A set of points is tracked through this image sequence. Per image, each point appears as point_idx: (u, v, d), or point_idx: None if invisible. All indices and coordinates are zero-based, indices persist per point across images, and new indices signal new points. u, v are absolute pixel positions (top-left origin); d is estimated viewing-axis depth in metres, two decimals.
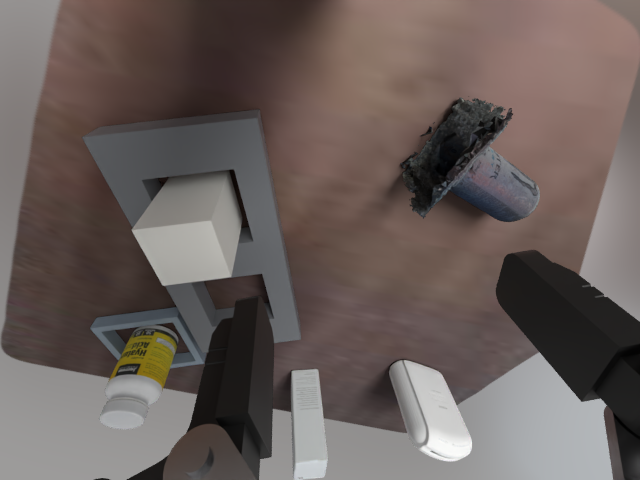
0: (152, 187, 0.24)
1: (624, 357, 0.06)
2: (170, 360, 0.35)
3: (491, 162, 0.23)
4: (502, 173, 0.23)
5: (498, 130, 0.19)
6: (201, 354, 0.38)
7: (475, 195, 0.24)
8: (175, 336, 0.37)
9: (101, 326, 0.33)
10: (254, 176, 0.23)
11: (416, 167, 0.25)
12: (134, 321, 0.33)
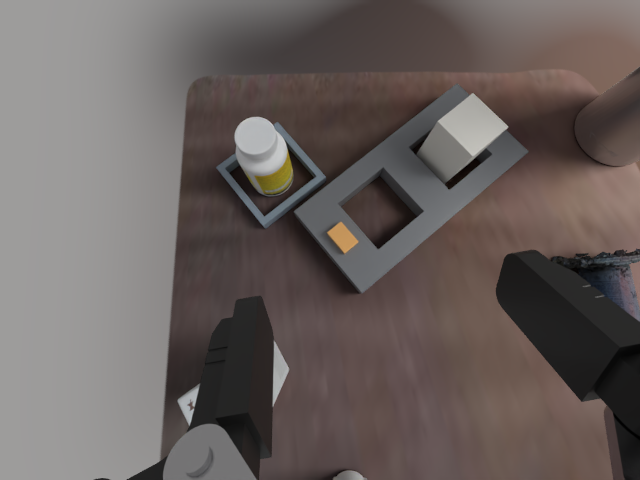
0: None
1: (624, 357, 0.06)
2: (278, 184, 0.34)
3: None
4: None
5: None
6: (273, 219, 0.35)
7: (611, 299, 0.30)
8: (286, 189, 0.37)
9: (283, 129, 0.37)
10: (496, 166, 0.35)
11: None
12: (301, 149, 0.37)
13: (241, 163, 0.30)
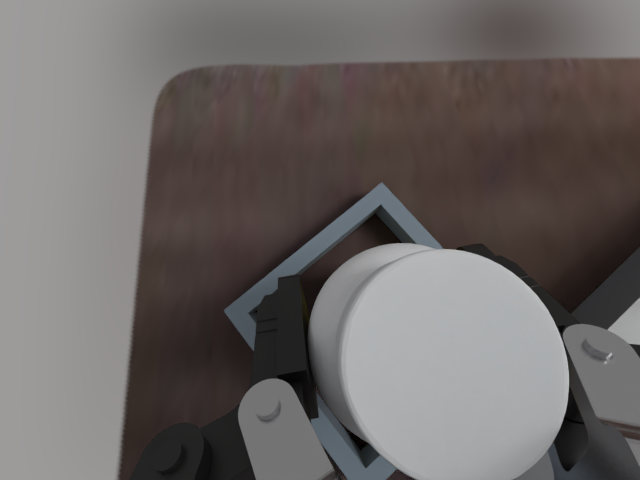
0: None
1: None
2: None
3: None
4: None
5: None
6: (389, 468, 0.12)
7: None
8: None
9: (398, 201, 0.14)
10: None
11: None
12: None
13: (338, 414, 0.07)
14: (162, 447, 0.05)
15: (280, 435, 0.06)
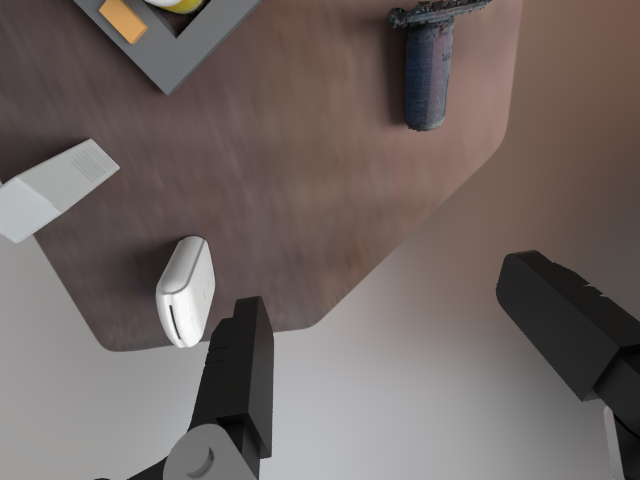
0: None
1: (624, 357, 0.06)
2: (190, 6, 0.26)
3: (450, 45, 0.29)
4: (447, 64, 0.30)
5: None
6: None
7: (423, 64, 0.29)
8: (203, 4, 0.28)
9: None
10: None
11: (404, 12, 0.29)
12: None
13: None
14: None
15: None
